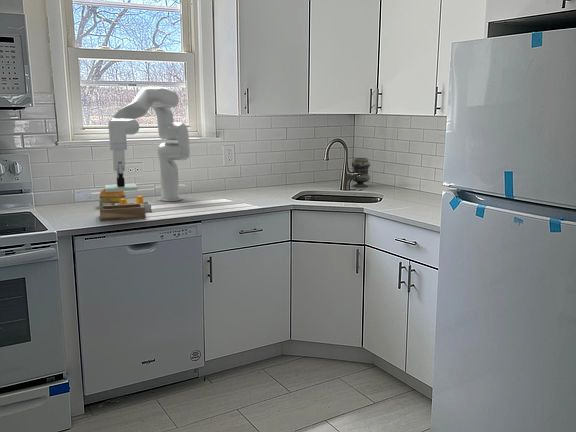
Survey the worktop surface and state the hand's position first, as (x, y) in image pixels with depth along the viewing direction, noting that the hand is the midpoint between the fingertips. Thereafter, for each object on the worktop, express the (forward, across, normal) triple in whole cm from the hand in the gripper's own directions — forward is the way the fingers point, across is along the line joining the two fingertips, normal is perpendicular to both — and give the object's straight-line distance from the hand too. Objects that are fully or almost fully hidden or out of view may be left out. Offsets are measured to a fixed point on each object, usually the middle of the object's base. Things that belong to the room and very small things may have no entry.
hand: (120, 185), depth 266 cm
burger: (+15, -30, -3) cm, 34 cm away
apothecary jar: (+15, -48, +149) cm, 157 cm away
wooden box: (+15, 0, 0) cm, 15 cm away
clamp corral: (+15, -14, +6) cm, 21 cm away
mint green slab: (+2, 0, 0) cm, 2 cm away
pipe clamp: (+15, -14, +6) cm, 21 cm away
